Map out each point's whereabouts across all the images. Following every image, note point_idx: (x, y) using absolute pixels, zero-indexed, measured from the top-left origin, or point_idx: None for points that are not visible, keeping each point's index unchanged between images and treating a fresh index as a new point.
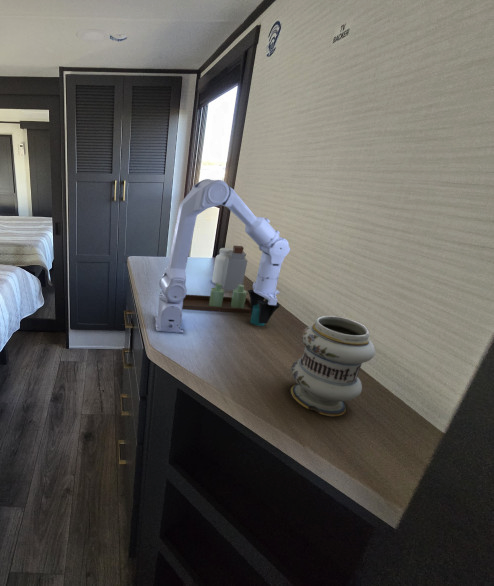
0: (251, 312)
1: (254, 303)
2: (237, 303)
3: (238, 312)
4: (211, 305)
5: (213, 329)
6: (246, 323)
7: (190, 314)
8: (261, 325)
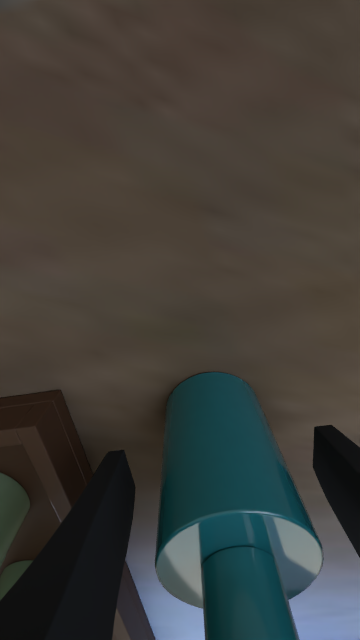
0: (64, 446)
1: (108, 583)
2: (6, 552)
3: None
4: None
5: None
6: None
7: (179, 629)
8: (262, 410)
